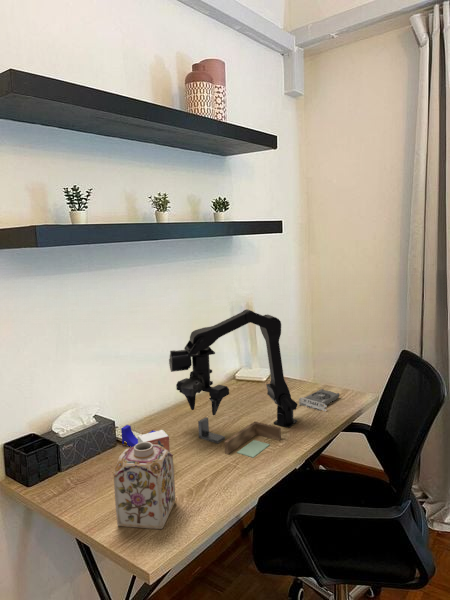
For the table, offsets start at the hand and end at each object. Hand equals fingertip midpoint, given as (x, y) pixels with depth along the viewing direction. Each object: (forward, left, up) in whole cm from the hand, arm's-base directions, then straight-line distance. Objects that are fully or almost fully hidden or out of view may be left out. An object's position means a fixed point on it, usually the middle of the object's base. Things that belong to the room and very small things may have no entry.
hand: (203, 412), depth 155 cm
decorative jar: (+42, +15, -9) cm, 46 cm away
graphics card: (-49, +22, -9) cm, 54 cm away
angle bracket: (0, +3, -9) cm, 9 cm away
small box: (+25, +1, -9) cm, 27 cm away
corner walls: (-3, +18, -9) cm, 20 cm away
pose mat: (-1, +19, -9) cm, 21 cm away
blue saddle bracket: (+17, -14, -9) cm, 23 cm away
